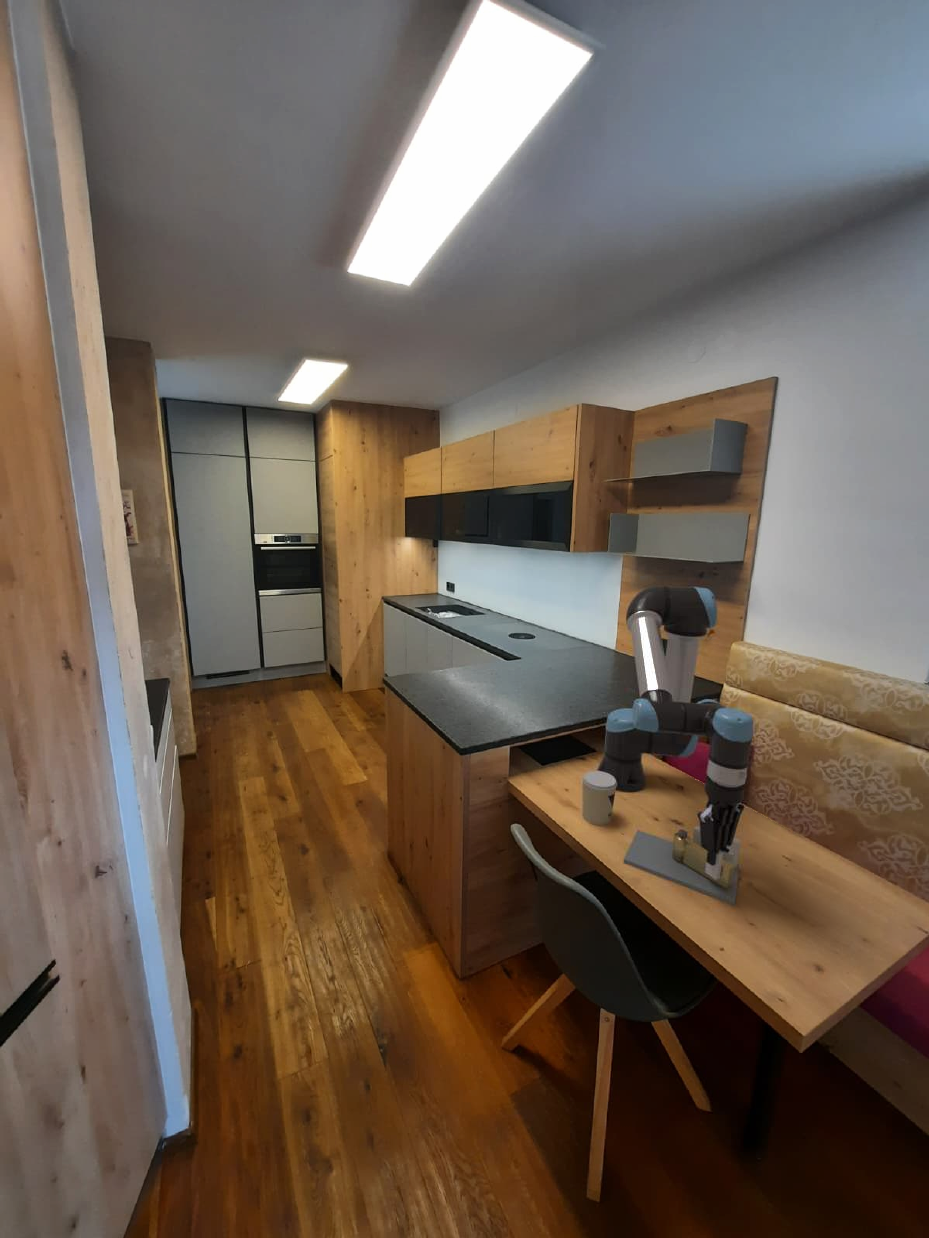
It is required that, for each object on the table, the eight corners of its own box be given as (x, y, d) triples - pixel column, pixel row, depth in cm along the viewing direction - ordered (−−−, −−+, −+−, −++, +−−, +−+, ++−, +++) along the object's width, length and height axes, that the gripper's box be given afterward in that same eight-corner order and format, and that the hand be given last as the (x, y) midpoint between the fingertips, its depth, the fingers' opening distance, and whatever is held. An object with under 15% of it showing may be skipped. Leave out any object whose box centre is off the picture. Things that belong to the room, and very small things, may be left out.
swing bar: (669, 855, 118) (671, 835, 117) (677, 850, 120) (679, 830, 119) (725, 890, 107) (728, 868, 106) (733, 883, 109) (736, 862, 108)
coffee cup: (615, 829, 131) (618, 789, 128) (580, 824, 132) (583, 784, 130) (611, 809, 140) (615, 772, 137) (579, 805, 141) (581, 768, 139)
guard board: (637, 833, 129) (640, 804, 128) (738, 868, 116) (743, 837, 115) (623, 862, 118) (626, 831, 116) (734, 905, 105) (739, 871, 103)
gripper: (721, 794, 99) (708, 894, 103) (760, 781, 104) (746, 877, 109) (690, 777, 105) (678, 872, 110) (728, 766, 111) (716, 857, 115)
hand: (712, 874), depth 109 cm, fingers closed
